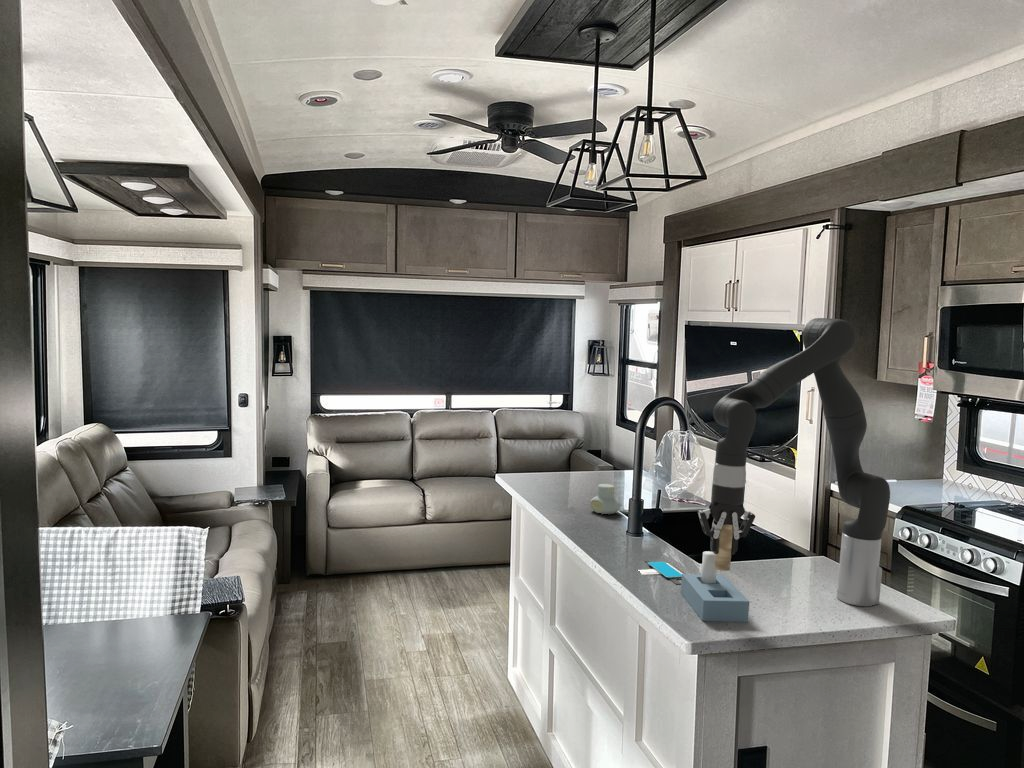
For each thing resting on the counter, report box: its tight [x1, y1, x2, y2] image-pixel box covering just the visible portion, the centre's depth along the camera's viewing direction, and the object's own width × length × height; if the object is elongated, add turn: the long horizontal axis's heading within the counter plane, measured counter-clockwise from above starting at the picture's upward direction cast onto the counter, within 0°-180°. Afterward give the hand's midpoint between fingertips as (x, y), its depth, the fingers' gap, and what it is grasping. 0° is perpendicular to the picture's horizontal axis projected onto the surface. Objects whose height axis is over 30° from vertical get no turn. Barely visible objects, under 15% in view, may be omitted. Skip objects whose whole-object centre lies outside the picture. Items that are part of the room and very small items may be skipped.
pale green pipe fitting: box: [589, 483, 621, 515], centre depth 272 cm, size 11×8×10 cm
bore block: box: [680, 550, 751, 623], centre depth 186 cm, size 11×18×12 cm, turn 4°
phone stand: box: [637, 558, 687, 585], centre depth 211 cm, size 20×12×2 cm, turn 16°
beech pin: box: [714, 524, 733, 572], centre depth 181 cm, size 4×4×11 cm
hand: (723, 552), depth 181 cm, fingers closed on beech pin, 3 cm apart
